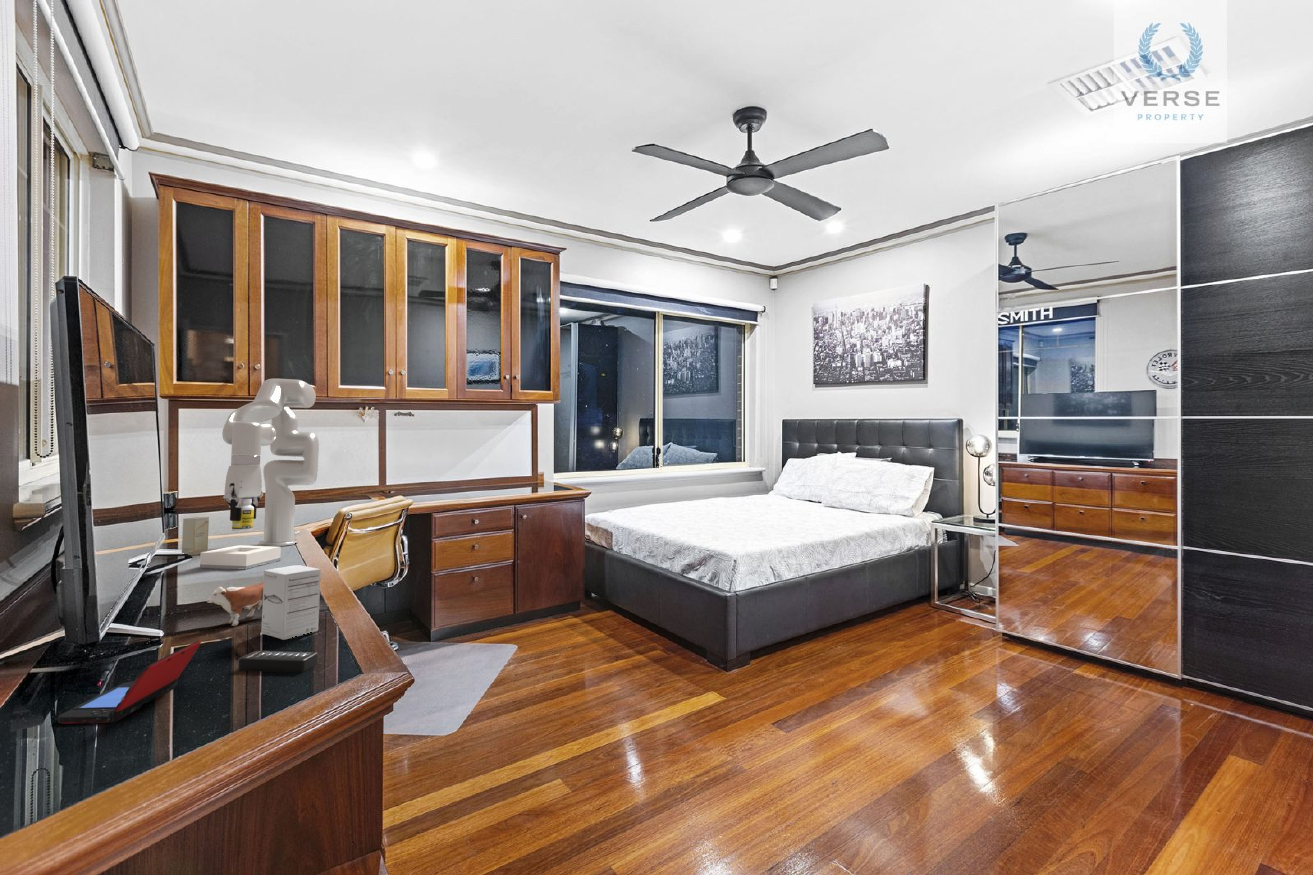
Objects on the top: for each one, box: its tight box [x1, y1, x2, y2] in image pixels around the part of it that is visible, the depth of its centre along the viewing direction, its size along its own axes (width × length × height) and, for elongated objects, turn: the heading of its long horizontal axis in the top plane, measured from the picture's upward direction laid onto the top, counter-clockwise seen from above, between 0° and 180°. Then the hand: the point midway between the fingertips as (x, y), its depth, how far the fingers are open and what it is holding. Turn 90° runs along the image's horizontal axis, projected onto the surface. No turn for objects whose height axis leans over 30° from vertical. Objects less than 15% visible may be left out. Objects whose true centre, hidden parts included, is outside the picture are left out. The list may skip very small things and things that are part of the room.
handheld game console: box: [57, 640, 202, 725], centre depth 85 cm, size 12×11×7 cm
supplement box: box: [260, 564, 322, 641], centre depth 119 cm, size 7×7×13 cm
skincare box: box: [181, 516, 210, 556], centre depth 202 cm, size 6×4×12 cm
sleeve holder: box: [199, 544, 282, 570], centre depth 186 cm, size 15×15×4 cm
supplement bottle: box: [231, 498, 255, 532], centre depth 186 cm, size 5×5×10 cm
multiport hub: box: [237, 649, 319, 674], centre depth 100 cm, size 4×11×2 cm, turn 89°
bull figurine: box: [206, 581, 264, 627], centre depth 126 cm, size 4×13×8 cm, turn 163°
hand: (243, 519), depth 186 cm, fingers closed on supplement bottle, 5 cm apart
